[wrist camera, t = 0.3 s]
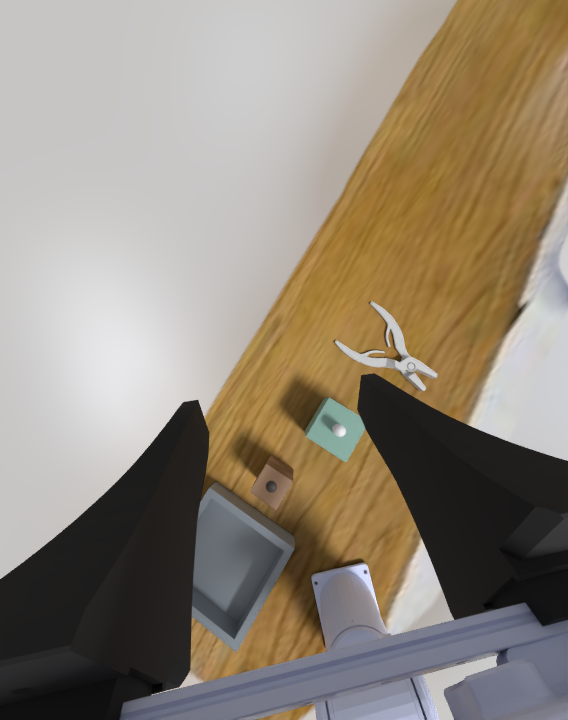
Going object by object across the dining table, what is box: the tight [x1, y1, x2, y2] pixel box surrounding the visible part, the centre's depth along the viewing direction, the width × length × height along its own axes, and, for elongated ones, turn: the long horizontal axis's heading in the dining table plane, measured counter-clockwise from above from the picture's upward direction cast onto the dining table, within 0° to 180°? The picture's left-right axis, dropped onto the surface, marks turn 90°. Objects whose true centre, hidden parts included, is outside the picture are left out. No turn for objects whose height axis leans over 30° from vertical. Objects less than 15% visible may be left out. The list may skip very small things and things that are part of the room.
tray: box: [192, 481, 295, 652], centre depth 34 cm, size 14×14×3 cm
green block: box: [304, 398, 365, 462], centre depth 35 cm, size 6×6×8 cm
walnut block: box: [250, 455, 293, 510], centre depth 35 cm, size 4×4×6 cm
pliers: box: [335, 302, 438, 391], centre depth 40 cm, size 10×2×15 cm
